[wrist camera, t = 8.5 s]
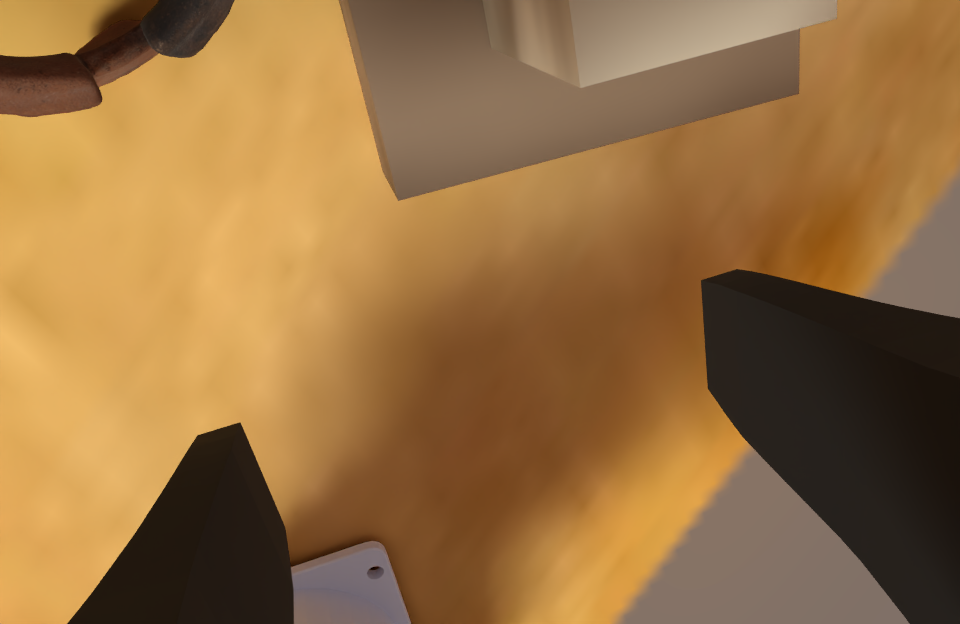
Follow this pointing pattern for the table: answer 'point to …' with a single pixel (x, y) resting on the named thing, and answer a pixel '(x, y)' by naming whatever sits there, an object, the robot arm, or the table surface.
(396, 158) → the grey flat square block
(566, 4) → the maple cube
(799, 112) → the table surface
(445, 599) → the table surface
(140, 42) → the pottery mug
